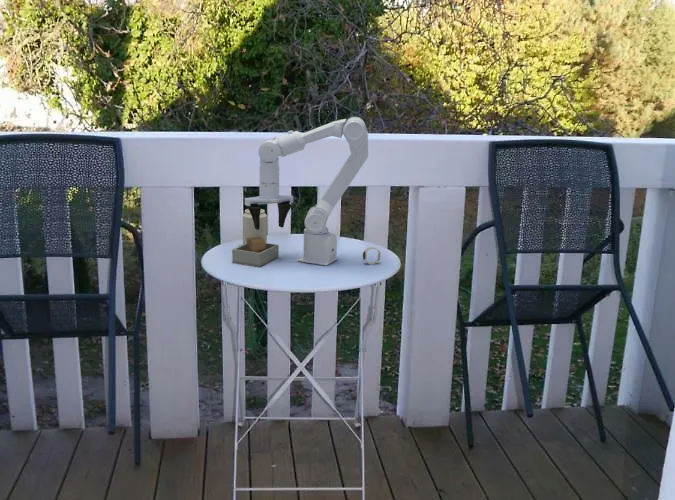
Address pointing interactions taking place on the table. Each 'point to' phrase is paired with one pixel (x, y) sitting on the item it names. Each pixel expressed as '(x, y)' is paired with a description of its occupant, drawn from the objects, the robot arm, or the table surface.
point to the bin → (255, 255)
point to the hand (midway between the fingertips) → (269, 227)
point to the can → (249, 226)
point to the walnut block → (255, 244)
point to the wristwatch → (366, 255)
